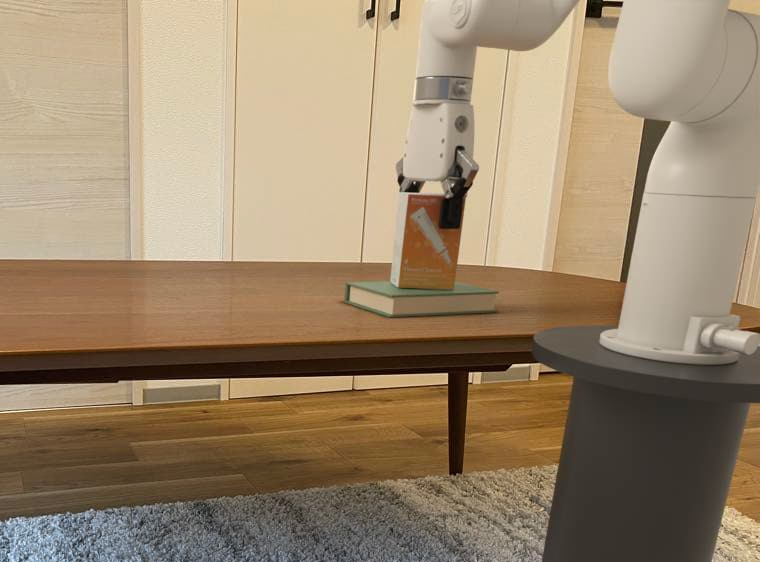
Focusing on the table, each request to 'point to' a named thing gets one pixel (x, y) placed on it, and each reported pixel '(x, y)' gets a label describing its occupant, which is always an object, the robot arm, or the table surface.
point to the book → (419, 299)
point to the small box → (424, 244)
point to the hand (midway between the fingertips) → (428, 225)
